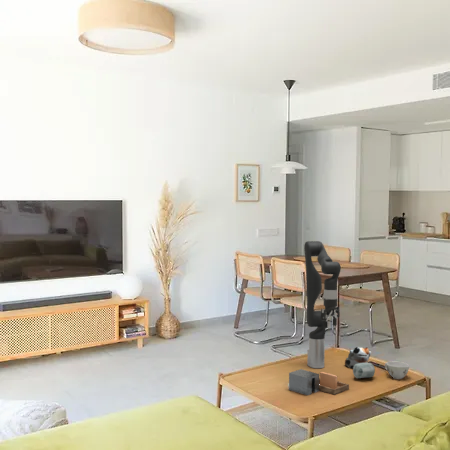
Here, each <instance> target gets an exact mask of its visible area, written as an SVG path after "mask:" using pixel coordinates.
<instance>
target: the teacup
mask: <svg viewBox="0 0 450 450" xmlns="http://www.w3.org/2000/svg"><path fill="white" fill-rule="evenodd" d="M384 368H385V370H386V371H387V372H388V374H389V376H391V378H392V377H393V379H395V380H402V379H403V378H404V377H406V376H407V374H408V372H409V370H410V364H409V363H407V362H403V361H394V360H393V361H387V362H385V363H384Z"/></svg>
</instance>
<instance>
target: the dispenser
mask: <svg viewBox="0 0 450 450" xmlns="http://www.w3.org/2000/svg"><path fill="white" fill-rule="evenodd" d="M319 379H320V373H316V372H313V371H310V370H305V369H302V368H300V369H298V370H293V371H290V372H288V390H289V391H290V392H291V391H292V392H295V393H298V394H301V395H304V396H310V395H313V394H312V393H315V394H316V393H318V392H319Z"/></svg>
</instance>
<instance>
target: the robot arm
mask: <svg viewBox="0 0 450 450" xmlns="http://www.w3.org/2000/svg"><path fill="white" fill-rule="evenodd" d="M303 246H304V249H303V252H304V261H305V279H306V280H305V282H306V283H305V284H306V285H305V287H306V324H307V326H308V327H310V328H315V329H314V330H312V331H310V332H309V333H308V349H307V364H306V365H307V366H308V367H309V368H312V369H323V368H324V367H325V345H326V344H325V343H326V342H325V341H326V340H325V337H326V329H328V326H329V321H328V320H329V319H330V318H332V326H333V327H335V326H337V325H338V321H337V320H338V318H340V306H338V280H339V278H340V277H339V276H340V273H341V270H342V268H341V264H340V262H339V261H333V259H332V258H331V257H330V255H329V254H328V253H327V250H326V248H325V245H324V243H322V242H321V241H319V240H311V241H309V240H308V241H307V240H306V241H305V242H304V245H303ZM312 257H317V258H316V259H317V262H318V264H319V265H320V268H321V269H320V270H321V273H322V274H324V275H331V277H328V278H325V279H324V283H323V281H322V277H321V274H320V272H318V270H317V269H316V267H315V264H314V262H313V260H312ZM322 283H323V284H324V285H322ZM322 287H323V289H322ZM322 290H323V306H324V308H321V310H315V305H316V301H317V300H318V298H319V296H320V295H321V292H322Z"/></svg>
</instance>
